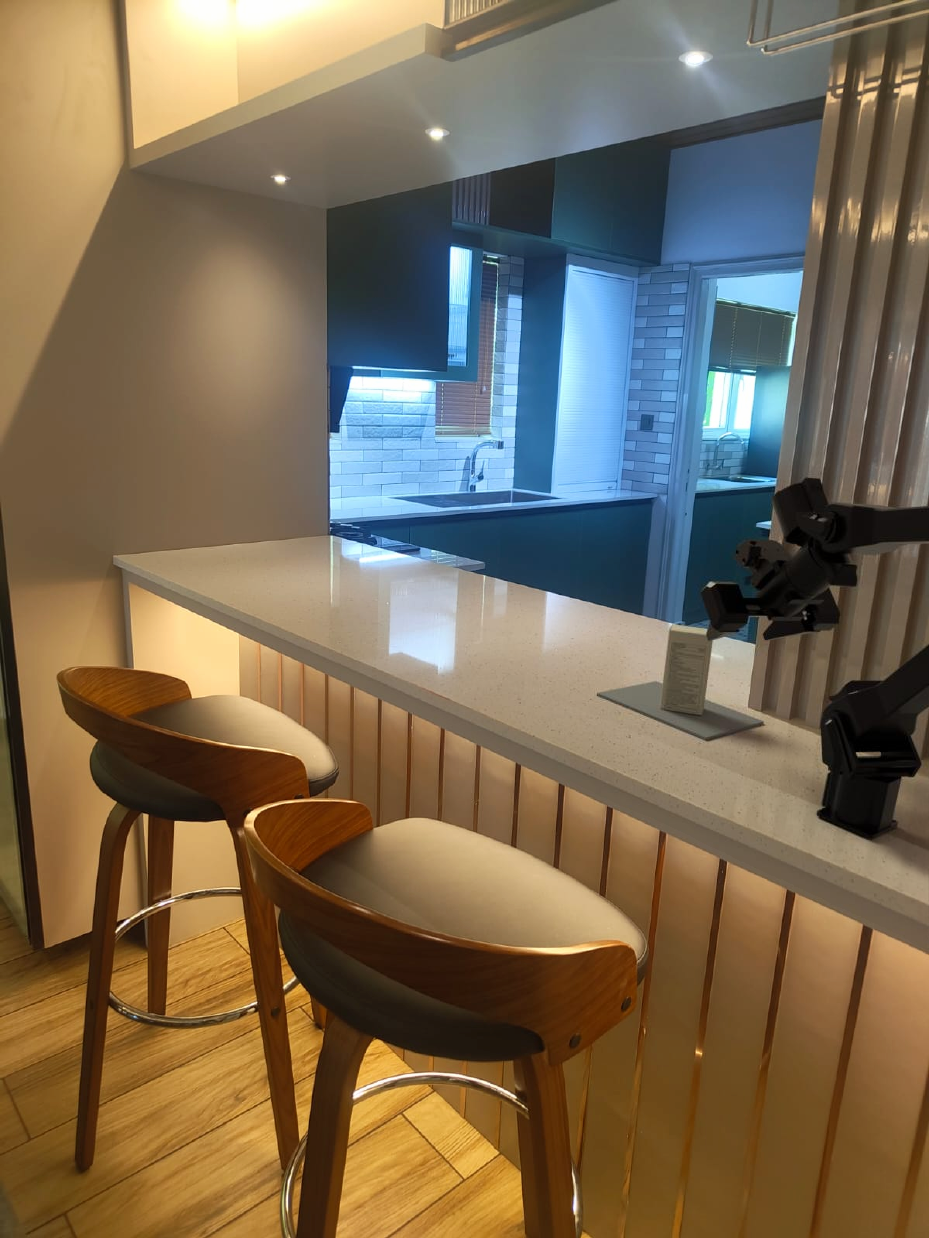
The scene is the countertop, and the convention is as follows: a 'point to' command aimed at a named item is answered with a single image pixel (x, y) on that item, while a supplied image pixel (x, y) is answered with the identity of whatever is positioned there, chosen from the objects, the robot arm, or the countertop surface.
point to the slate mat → (704, 726)
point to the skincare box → (686, 670)
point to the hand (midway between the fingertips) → (736, 637)
